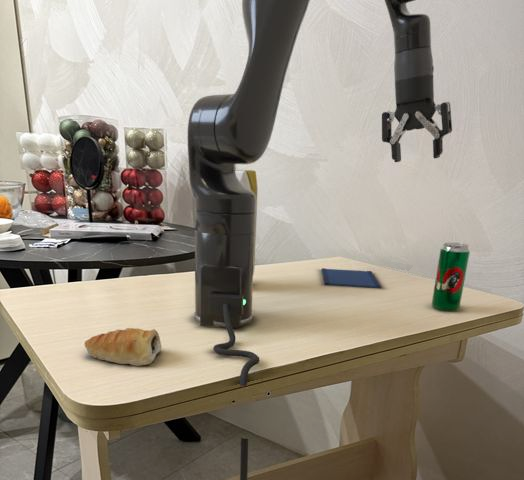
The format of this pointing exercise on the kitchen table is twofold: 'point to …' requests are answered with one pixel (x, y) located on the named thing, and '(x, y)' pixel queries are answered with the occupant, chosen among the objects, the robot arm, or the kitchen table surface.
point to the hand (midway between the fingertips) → (417, 159)
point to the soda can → (450, 276)
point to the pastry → (125, 346)
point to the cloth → (350, 278)
